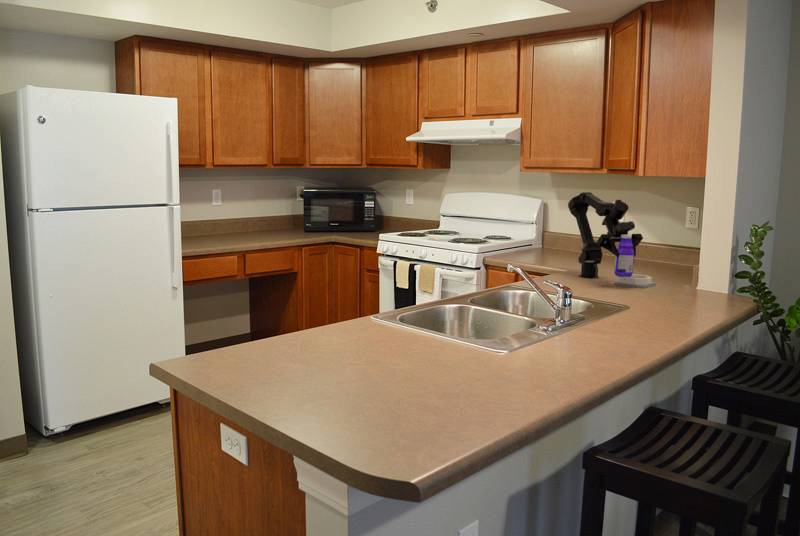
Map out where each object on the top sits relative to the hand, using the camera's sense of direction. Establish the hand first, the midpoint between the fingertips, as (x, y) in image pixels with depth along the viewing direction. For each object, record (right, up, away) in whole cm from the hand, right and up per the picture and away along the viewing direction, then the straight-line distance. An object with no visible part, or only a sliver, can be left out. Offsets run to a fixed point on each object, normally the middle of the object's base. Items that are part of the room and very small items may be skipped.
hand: (626, 256), depth 277 cm
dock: (+7, -12, +11) cm, 17 cm away
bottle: (-1, -8, +3) cm, 9 cm away
